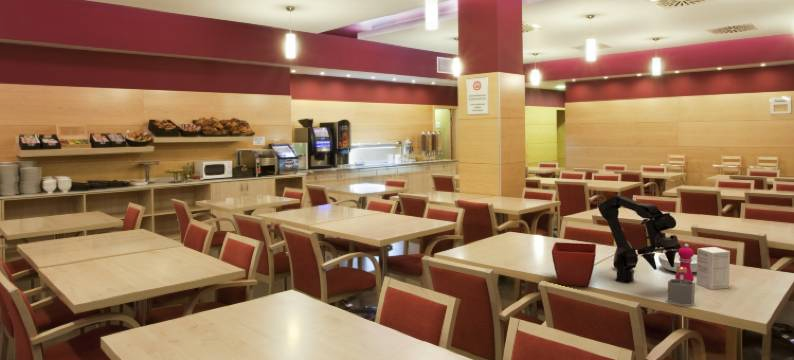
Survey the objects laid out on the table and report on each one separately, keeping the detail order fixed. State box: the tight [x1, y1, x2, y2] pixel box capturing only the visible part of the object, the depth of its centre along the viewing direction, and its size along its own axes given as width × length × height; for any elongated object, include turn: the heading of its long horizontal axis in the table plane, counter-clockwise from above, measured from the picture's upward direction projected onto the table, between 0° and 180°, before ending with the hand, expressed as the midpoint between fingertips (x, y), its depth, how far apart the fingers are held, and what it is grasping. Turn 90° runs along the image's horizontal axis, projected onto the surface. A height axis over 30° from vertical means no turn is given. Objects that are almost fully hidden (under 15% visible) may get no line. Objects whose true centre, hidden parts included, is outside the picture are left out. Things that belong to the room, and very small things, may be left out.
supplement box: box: [696, 246, 731, 290], centre depth 238 cm, size 10×9×17 cm
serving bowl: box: [657, 252, 697, 273], centre depth 264 cm, size 21×21×7 cm
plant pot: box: [551, 241, 597, 287], centre depth 249 cm, size 19×19×17 cm
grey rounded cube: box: [667, 278, 696, 307], centre depth 219 cm, size 10×10×8 cm
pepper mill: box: [674, 243, 695, 283], centre depth 237 cm, size 7×7×20 cm
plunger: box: [674, 266, 689, 285], centre depth 218 cm, size 7×7×8 cm
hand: (664, 268), depth 228 cm, fingers open, 9 cm apart
